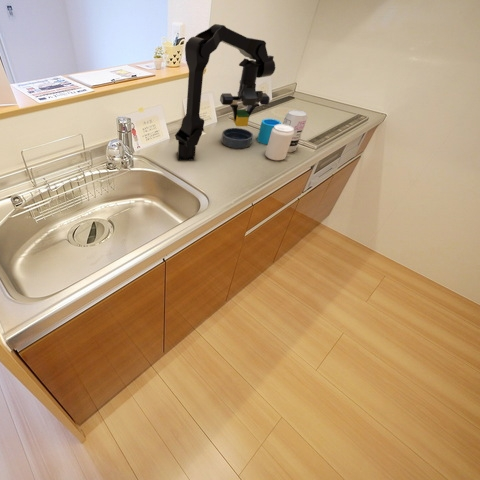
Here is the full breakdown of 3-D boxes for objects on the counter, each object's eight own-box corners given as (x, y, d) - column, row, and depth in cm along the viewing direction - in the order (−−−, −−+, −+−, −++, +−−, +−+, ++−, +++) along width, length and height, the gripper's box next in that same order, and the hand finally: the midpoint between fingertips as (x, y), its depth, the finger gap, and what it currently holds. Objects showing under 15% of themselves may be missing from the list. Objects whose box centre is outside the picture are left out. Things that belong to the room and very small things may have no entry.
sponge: (247, 126, 114) (249, 115, 111) (236, 126, 114) (238, 115, 111) (243, 120, 119) (245, 109, 116) (232, 120, 119) (234, 109, 116)
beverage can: (289, 159, 111) (299, 130, 103) (273, 163, 109) (282, 133, 101) (276, 151, 117) (285, 122, 108) (260, 154, 115) (268, 125, 106)
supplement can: (279, 143, 122) (290, 107, 112) (298, 148, 118) (311, 112, 108) (272, 149, 118) (283, 113, 107) (291, 155, 114) (304, 118, 104)
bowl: (224, 149, 118) (225, 140, 115) (218, 136, 127) (219, 128, 125) (254, 149, 118) (256, 140, 115) (246, 136, 128) (248, 127, 125)
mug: (268, 145, 120) (273, 127, 115) (253, 139, 125) (257, 121, 119) (284, 139, 125) (290, 120, 120) (269, 133, 130) (274, 115, 125)
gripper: (228, 85, 99) (221, 128, 110) (279, 84, 99) (267, 128, 110) (222, 77, 107) (217, 118, 118) (269, 77, 108) (259, 117, 118)
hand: (240, 120), depth 116 cm, fingers closed on sponge, 4 cm apart
